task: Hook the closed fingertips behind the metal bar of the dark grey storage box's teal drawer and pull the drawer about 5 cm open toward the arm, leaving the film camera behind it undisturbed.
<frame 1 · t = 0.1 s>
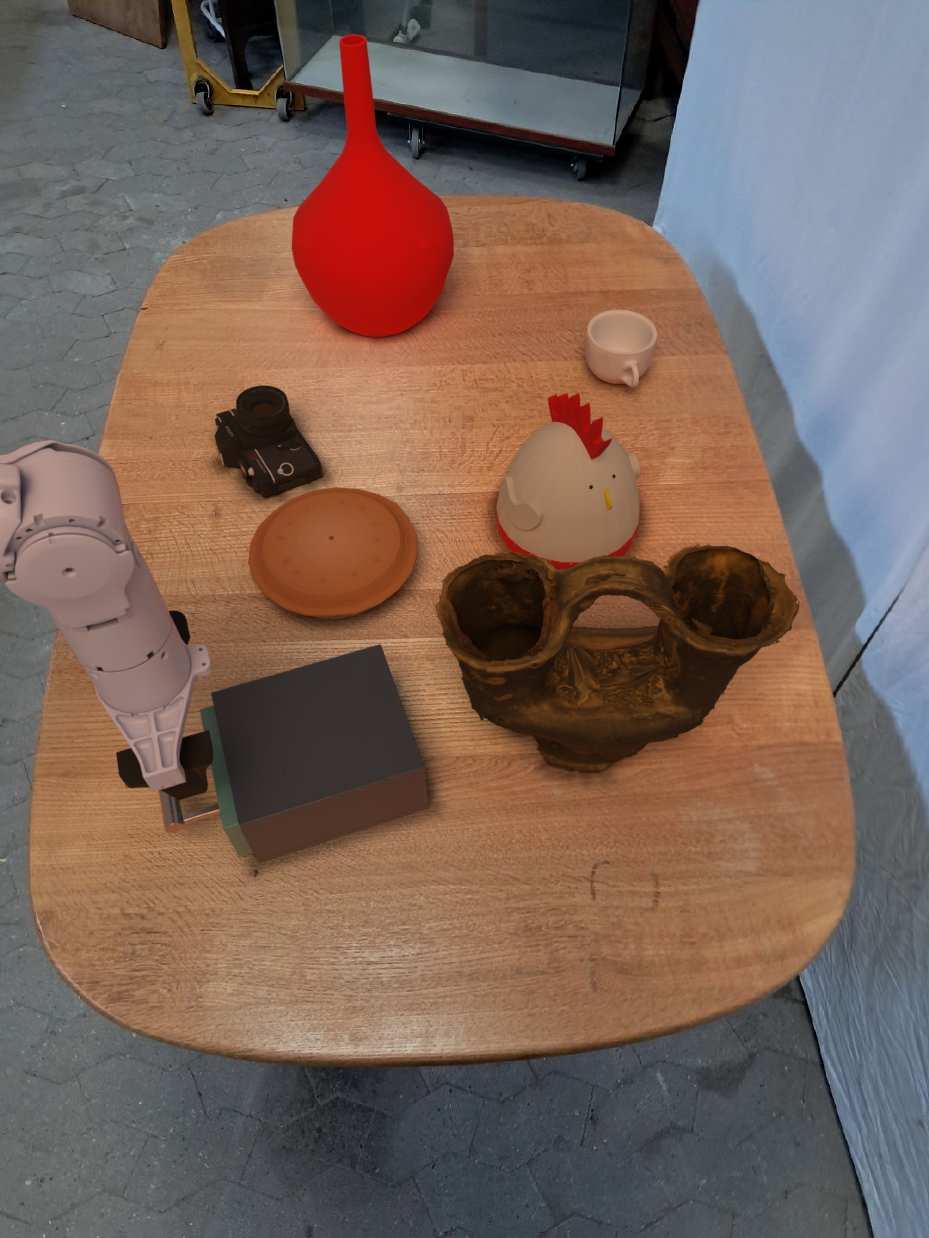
hand: (183, 744, 64), 10 cm above the table, tool pointing down, fingers open, 7 cm apart
vase: (380, 314, 110), on the table
pottery vessel: (591, 721, 76), on the table
film camera: (268, 457, 96), on the table
teacup: (618, 379, 102), on the table
kitchen timer: (566, 520, 90), on the table
drawer: (271, 766, 70), point 4 cm above the table, slide at 0.0 cm
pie: (338, 574, 86), on the table
dark grey storage box: (327, 772, 73), on the table
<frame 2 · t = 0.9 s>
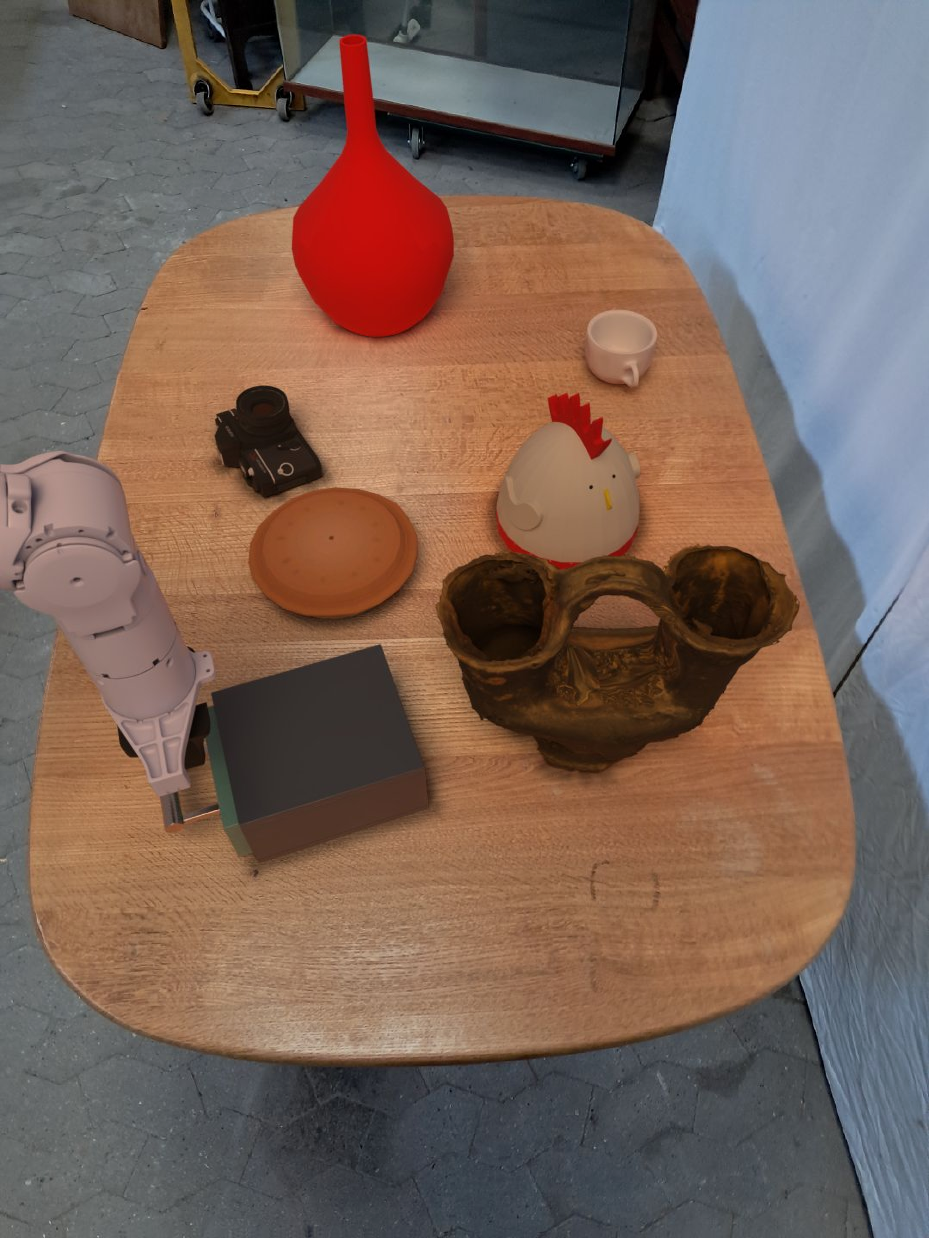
hand: (187, 749, 64), 9 cm above the table, tool pointing down, fingers closed
nothing on the table moved.
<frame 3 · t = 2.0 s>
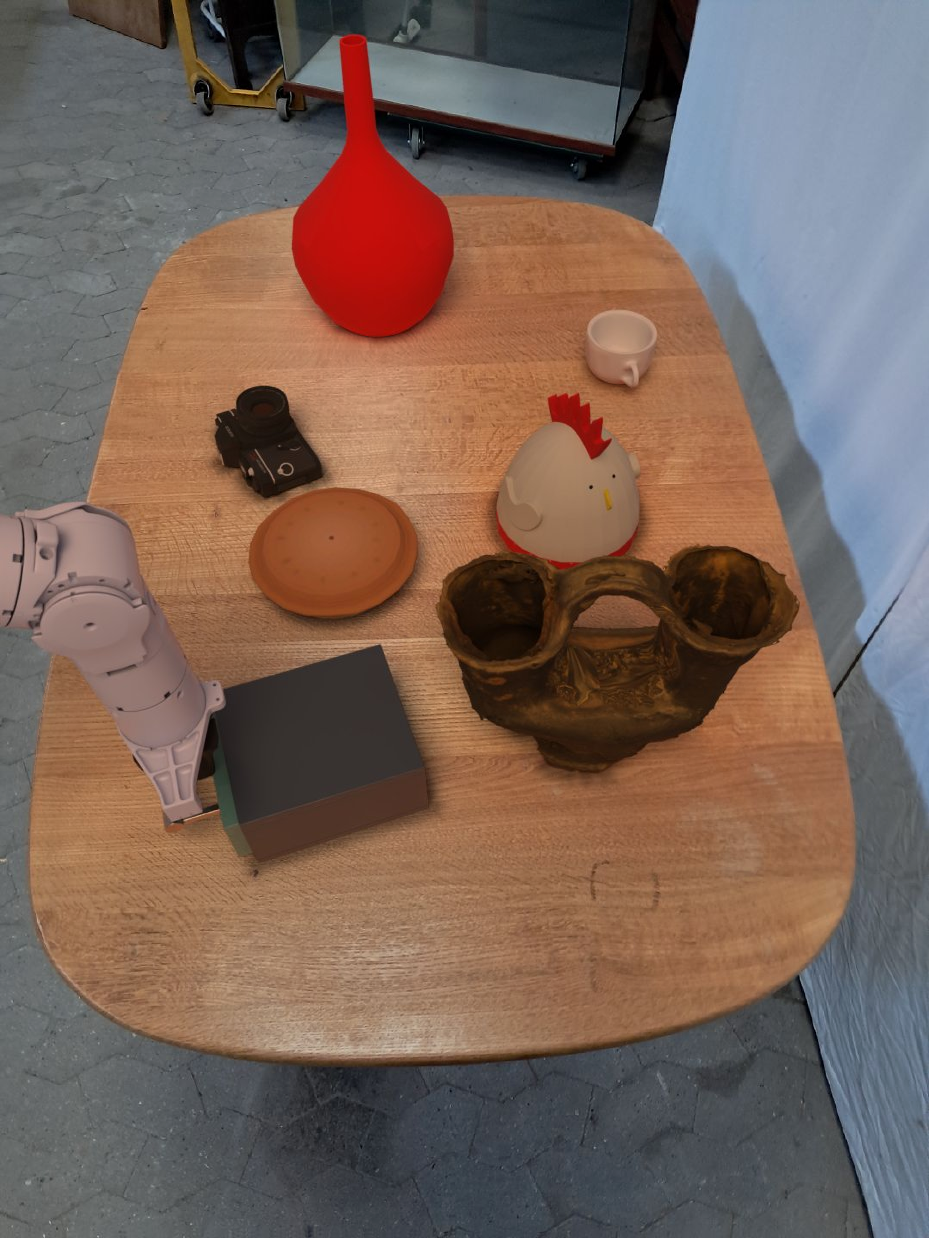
hand: (200, 771, 67), 6 cm above the table, tool pointing down, fingers closed, pressing on drawer
drawer: (271, 766, 70), point 4 cm above the table, slide at 0.0 cm, touching gripper, dark grey storage box
everything else where it was.
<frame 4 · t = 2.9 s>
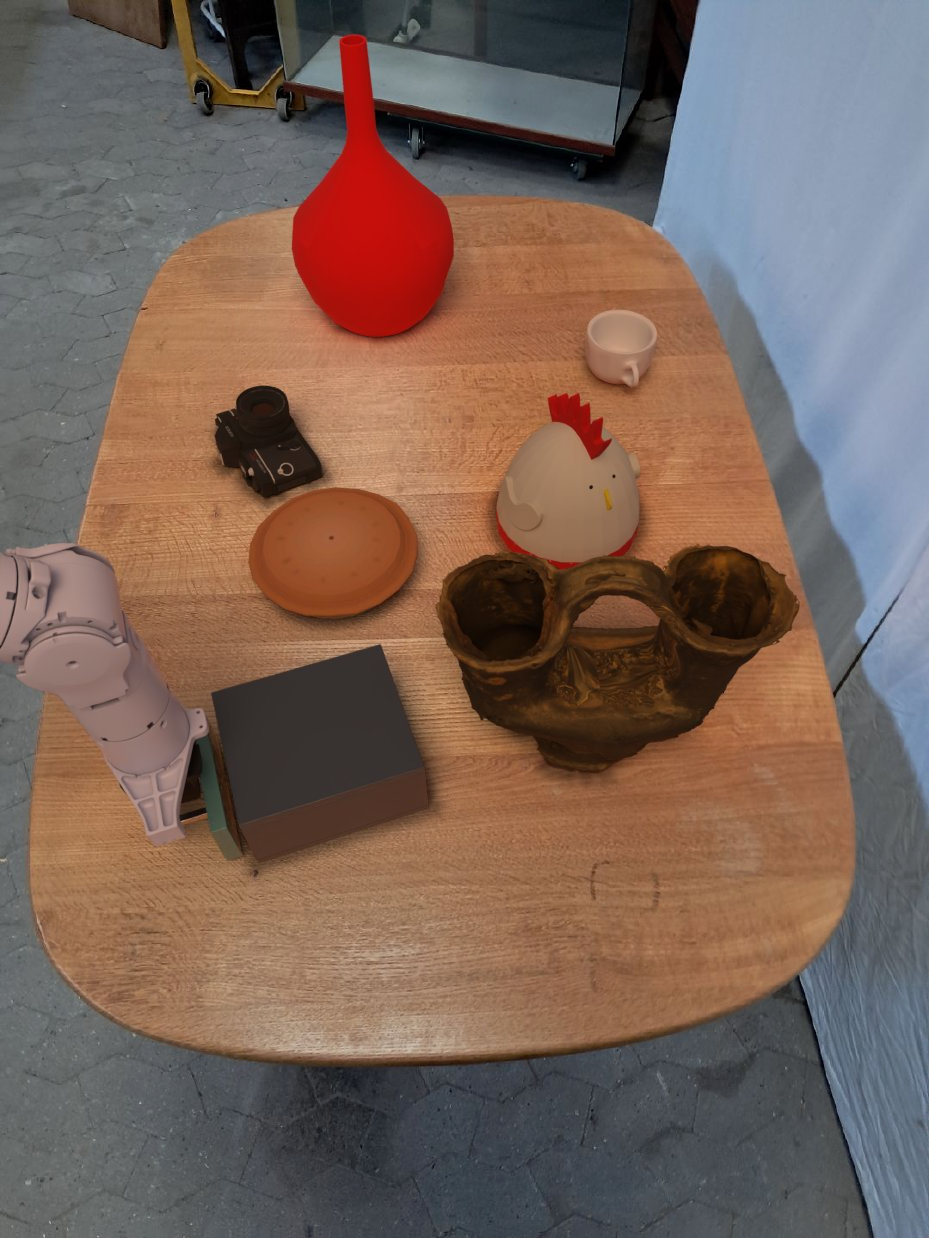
hand: (186, 793, 69), 3 cm above the table, tool pointing down, fingers closed, pressing on drawer
drawer: (260, 769, 70), point 4 cm above the table, slide at 0.9 cm, touching gripper
everything else where it was.
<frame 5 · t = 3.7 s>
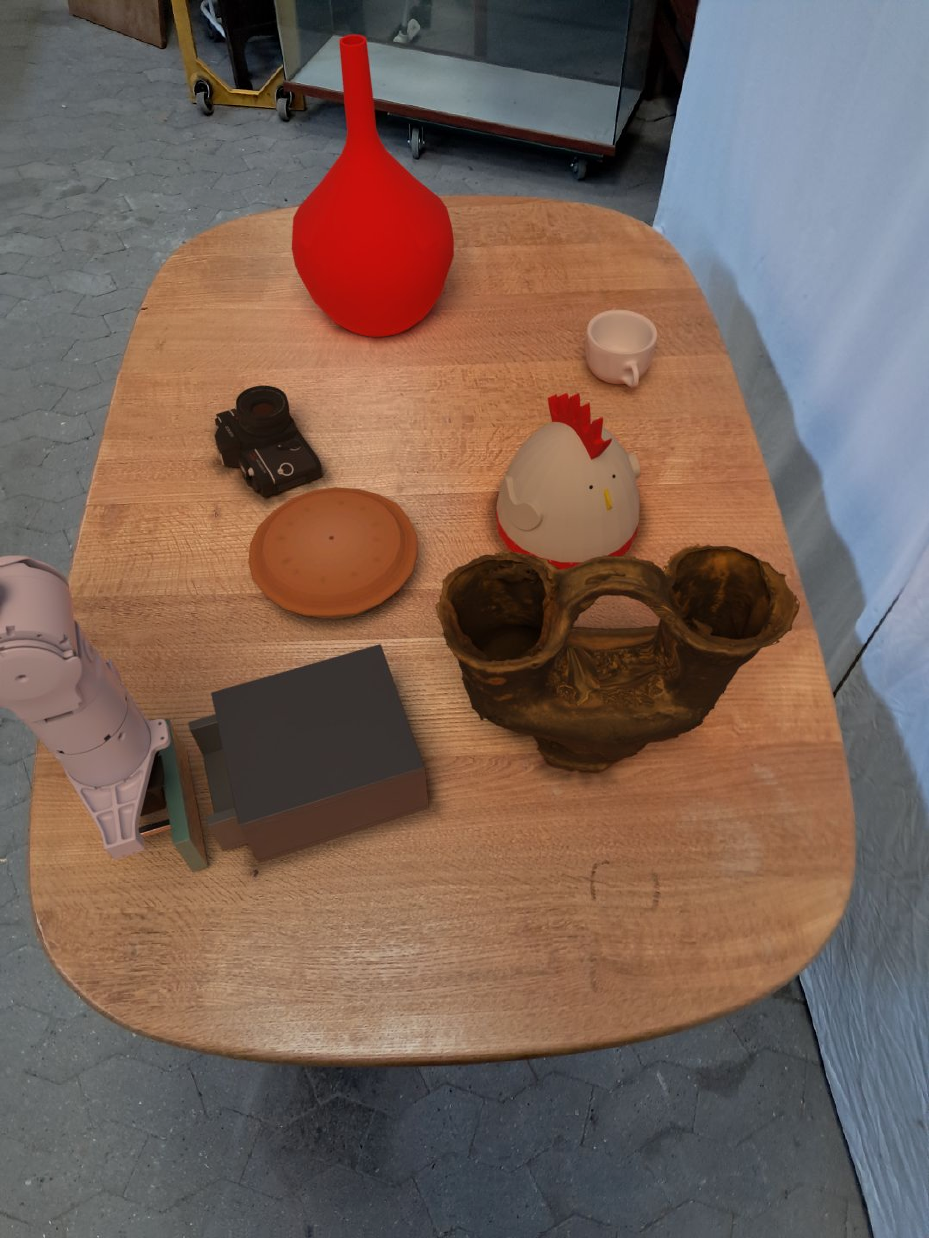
hand: (151, 804, 68), 3 cm above the table, tool pointing down, fingers closed, pressing on drawer
drawer: (226, 780, 69), point 4 cm above the table, slide at 3.5 cm, touching gripper
everything else where it was.
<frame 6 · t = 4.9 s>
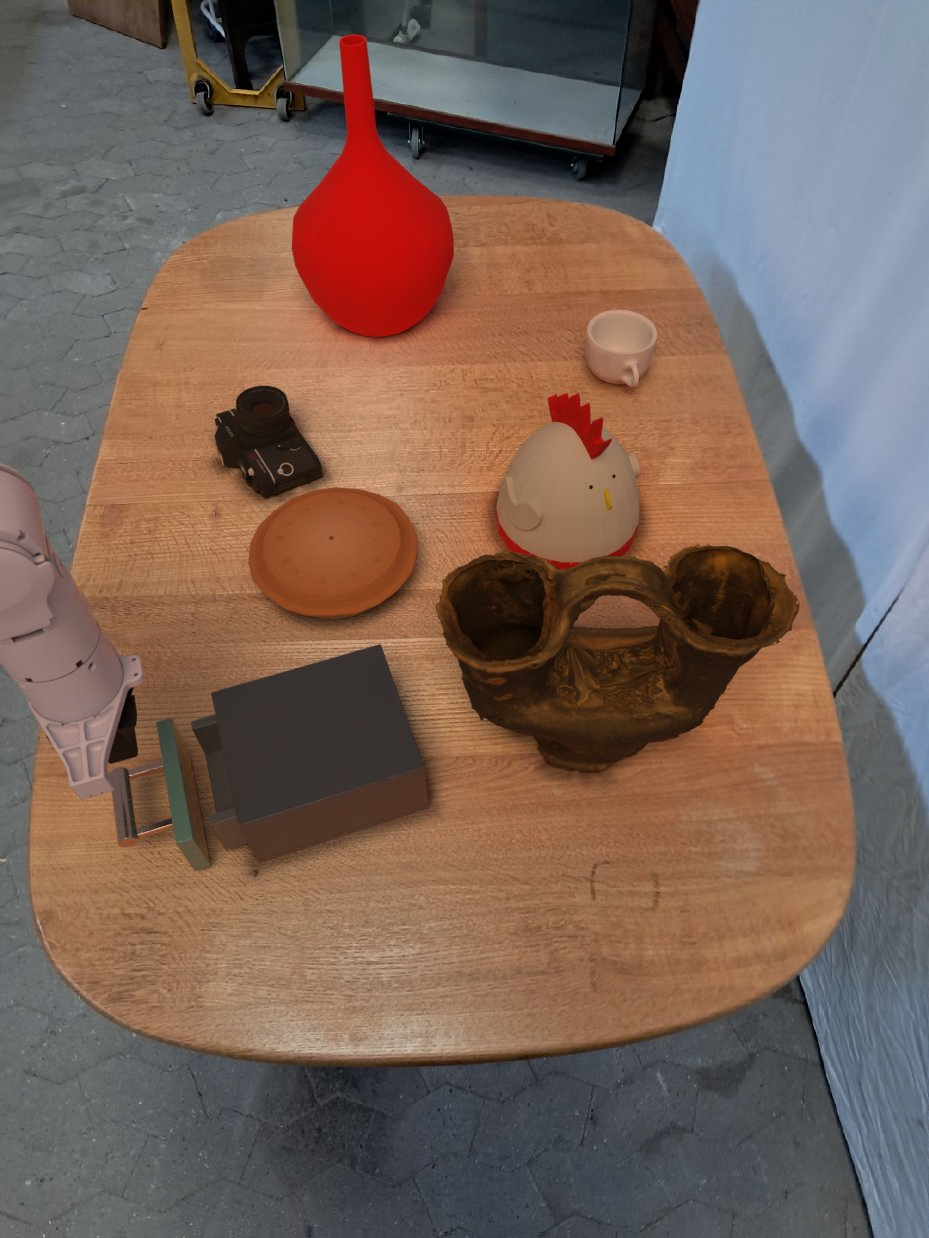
hand: (122, 752, 64), 9 cm above the table, tool pointing down, fingers closed
drawer: (228, 779, 69), point 4 cm above the table, slide at 3.3 cm
everything else where it was.
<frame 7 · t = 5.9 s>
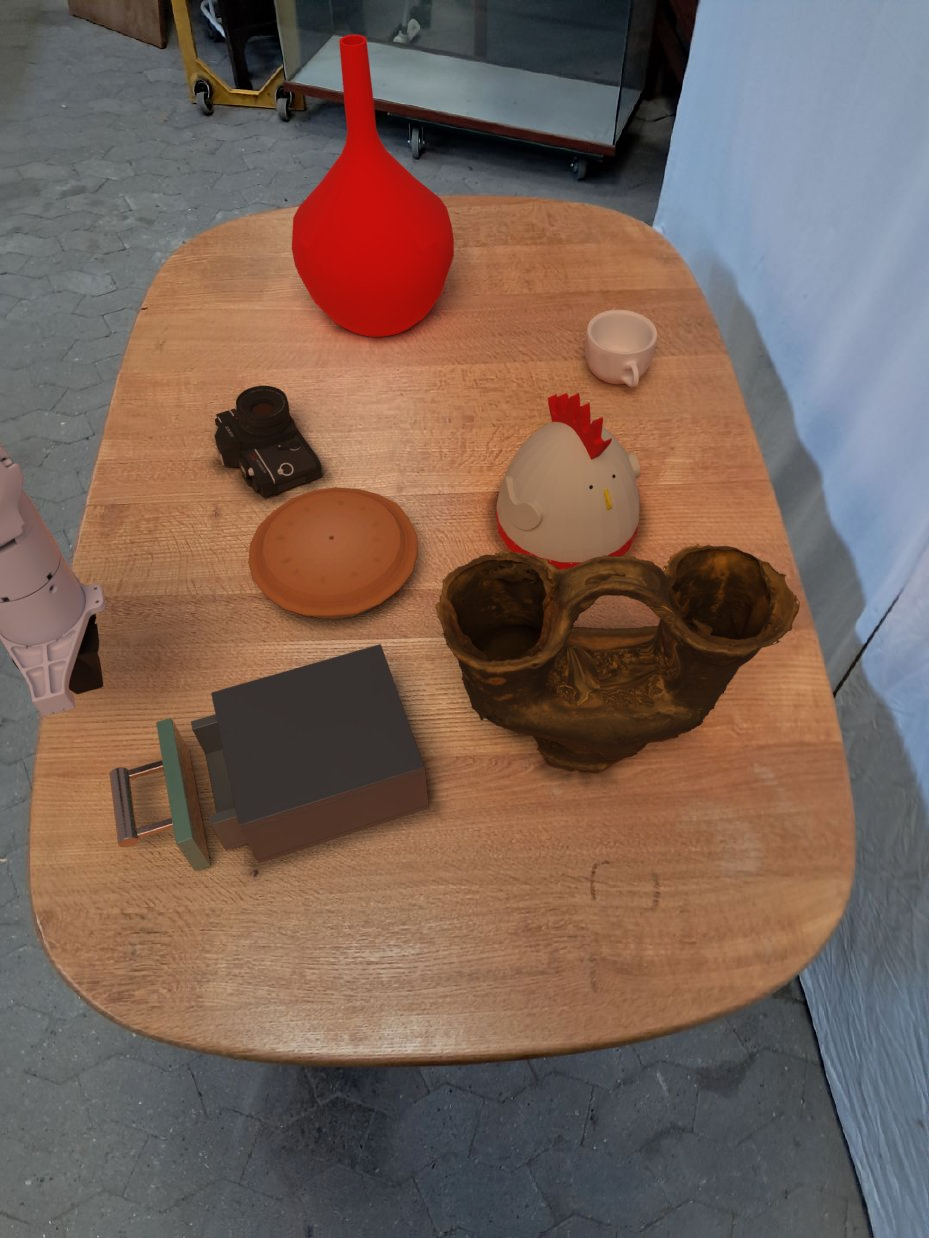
hand: (88, 683, 68), 9 cm above the table, tool pointing down, fingers closed
nothing on the table moved.
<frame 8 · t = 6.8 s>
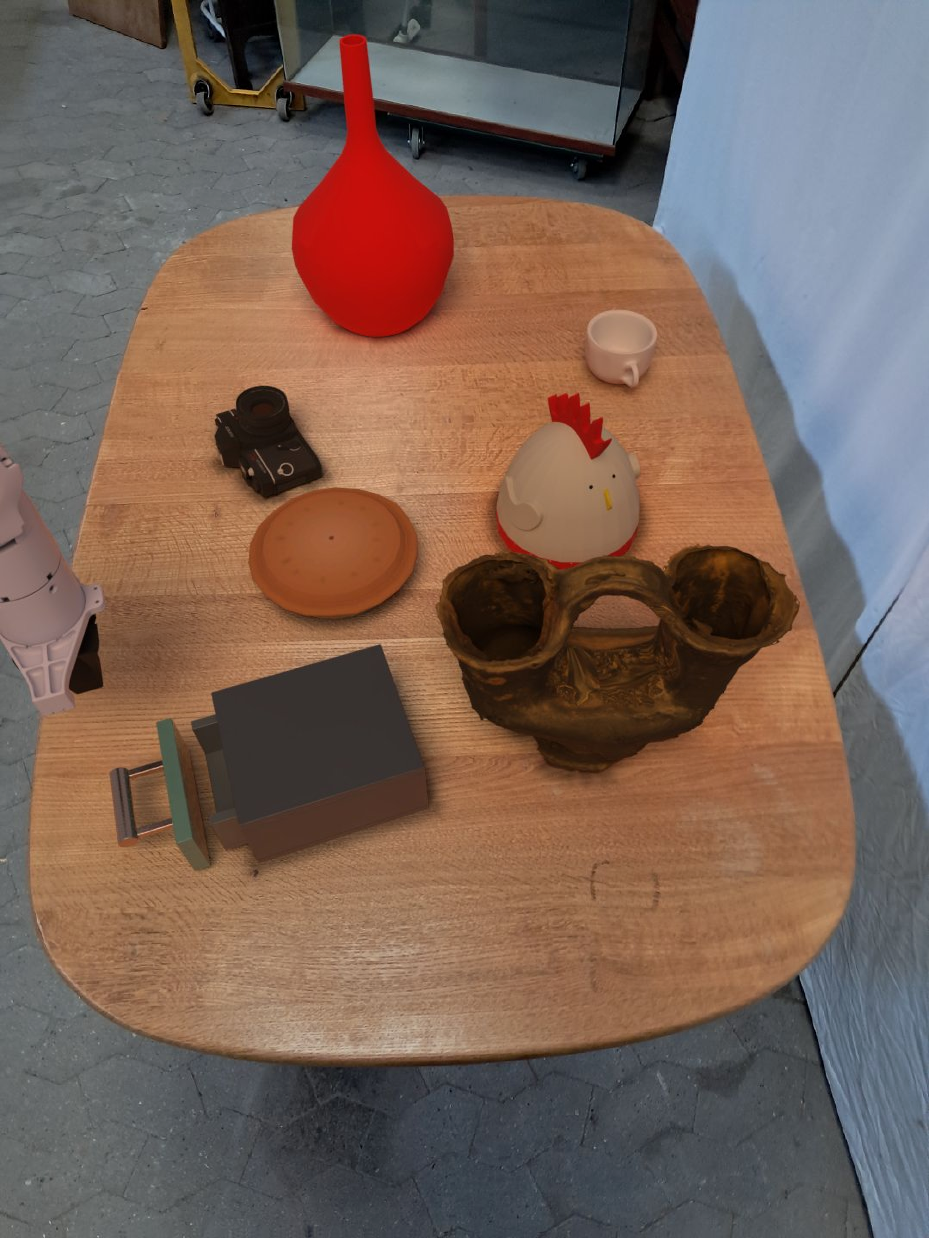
hand: (88, 683, 68), 9 cm above the table, tool pointing down, fingers closed
nothing on the table moved.
at the end: drawer slide at 3.3 cm; drawer 38.5 cm from the film camera (horizontally); film camera moved 0.2 cm from its start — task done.
